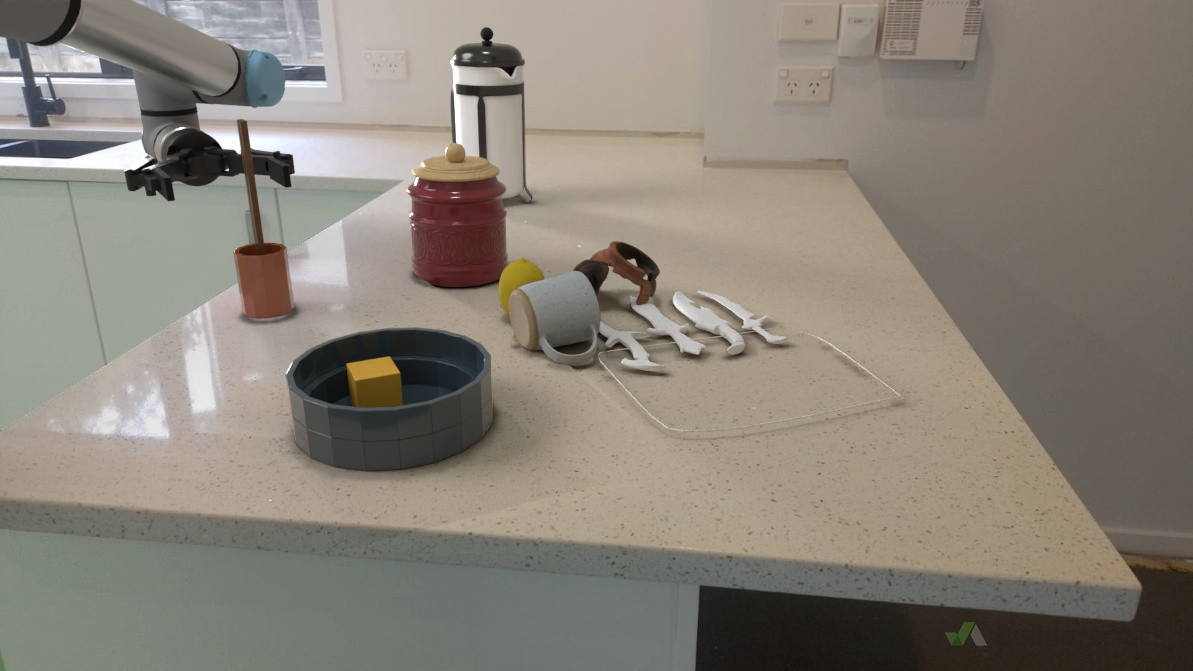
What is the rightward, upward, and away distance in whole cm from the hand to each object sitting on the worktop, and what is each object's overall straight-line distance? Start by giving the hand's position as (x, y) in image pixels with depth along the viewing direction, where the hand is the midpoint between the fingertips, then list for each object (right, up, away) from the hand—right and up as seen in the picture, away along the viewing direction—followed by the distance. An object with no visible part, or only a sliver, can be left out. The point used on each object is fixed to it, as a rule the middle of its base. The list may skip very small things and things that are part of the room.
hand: (230, 182), depth 102 cm
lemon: (+36, -17, -3) cm, 40 cm away
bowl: (+26, -27, -26) cm, 46 cm away
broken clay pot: (+46, -14, +3) cm, 48 cm away
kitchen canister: (+26, -10, +14) cm, 31 cm away
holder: (+5, -16, -2) cm, 17 cm away
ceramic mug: (+41, -20, -10) cm, 46 cm away
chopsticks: (+5, -15, -2) cm, 16 cm away
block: (+24, -25, -25) cm, 43 cm away
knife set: (+57, -20, -10) cm, 61 cm away
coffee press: (+24, +6, +53) cm, 59 cm away
